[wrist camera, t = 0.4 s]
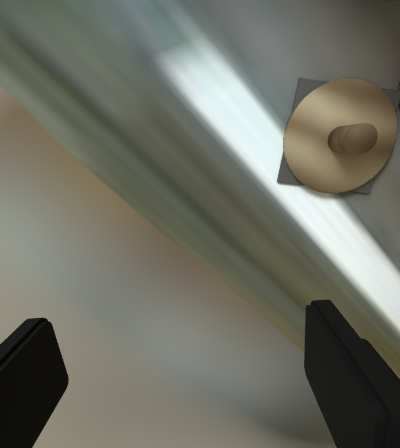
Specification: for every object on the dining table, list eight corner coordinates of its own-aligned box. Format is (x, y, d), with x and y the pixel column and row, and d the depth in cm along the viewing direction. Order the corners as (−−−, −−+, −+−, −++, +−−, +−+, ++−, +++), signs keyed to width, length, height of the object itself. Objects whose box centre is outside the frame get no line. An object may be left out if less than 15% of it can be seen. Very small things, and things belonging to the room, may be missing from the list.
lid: (296, 73, 32) (316, 57, 26) (407, 87, 32) (451, 75, 26) (273, 185, 36) (285, 192, 30) (371, 197, 36) (402, 207, 30)
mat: (298, 78, 32) (299, 78, 32) (400, 92, 32) (402, 91, 32) (276, 181, 36) (277, 182, 36) (367, 193, 36) (369, 193, 36)
